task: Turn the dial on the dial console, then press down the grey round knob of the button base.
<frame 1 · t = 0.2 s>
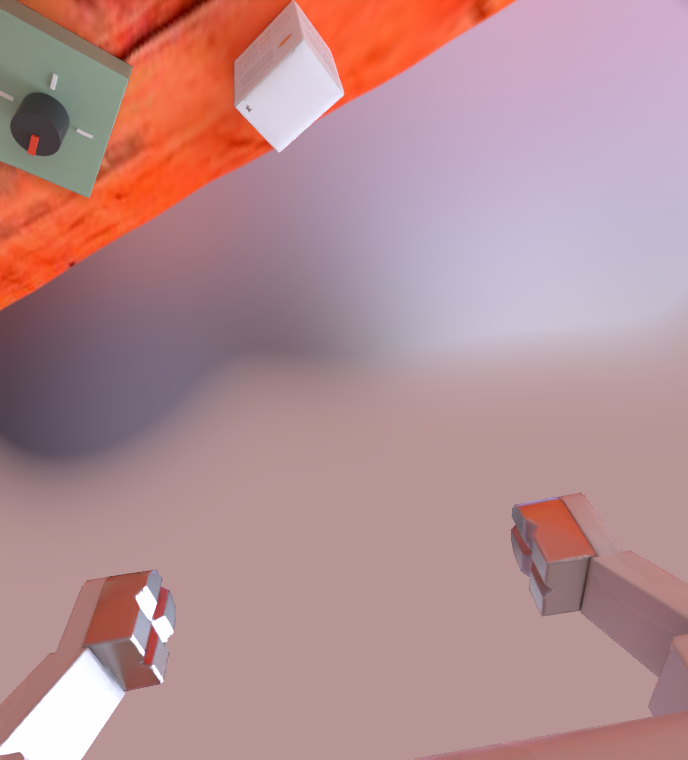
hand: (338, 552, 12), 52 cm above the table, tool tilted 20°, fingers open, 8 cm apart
dial console: (53, 100, 50), on the table
dial: (40, 125, 47), point 5 cm above the table, hinge at 0.0°
small box: (282, 54, 50), on the table
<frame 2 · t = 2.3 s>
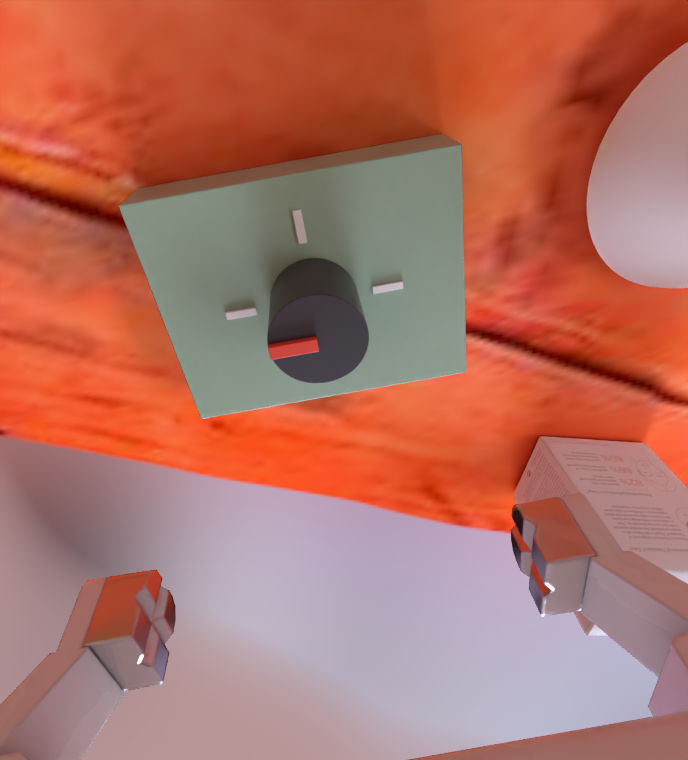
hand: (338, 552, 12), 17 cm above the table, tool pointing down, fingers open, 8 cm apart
dial console: (311, 275, 26), on the table
dial: (316, 320, 21), point 5 cm above the table, hinge at 0.0°
small box: (575, 466, 35), on the table
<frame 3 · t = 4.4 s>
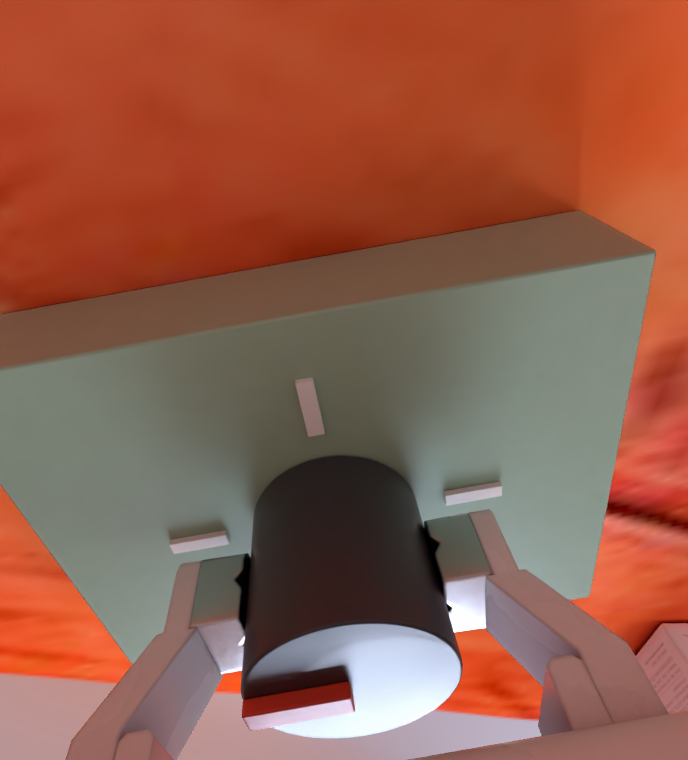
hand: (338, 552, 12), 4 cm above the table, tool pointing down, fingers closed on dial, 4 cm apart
dial console: (327, 438, 15), on the table
dial: (344, 595, 11), point 5 cm above the table, hinge at 0.0°, touching gripper
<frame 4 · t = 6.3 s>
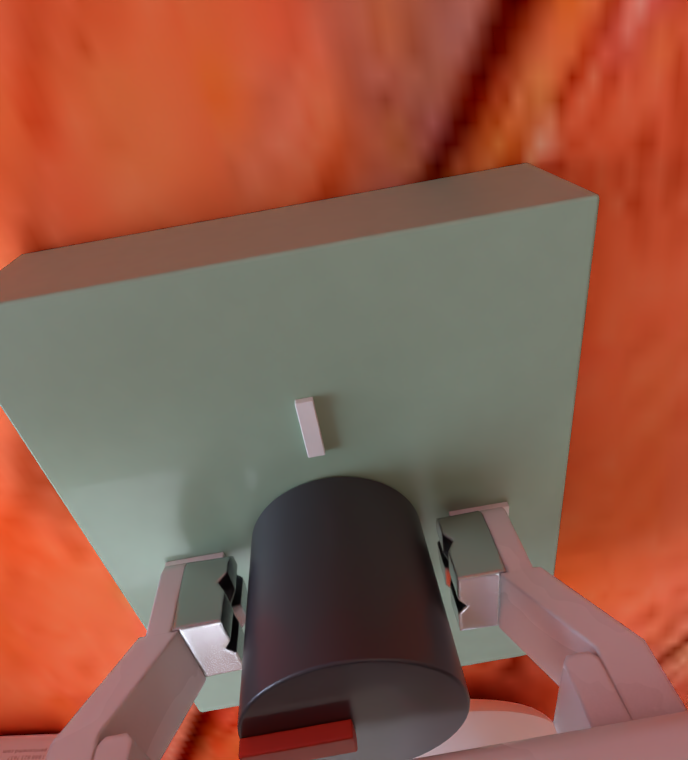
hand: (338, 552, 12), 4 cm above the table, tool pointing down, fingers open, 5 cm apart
dial console: (328, 453, 15), on the table
flower in vase: (448, 730, 25), on the table
dial: (345, 623, 10), point 5 cm above the table, hinge at 90.3°
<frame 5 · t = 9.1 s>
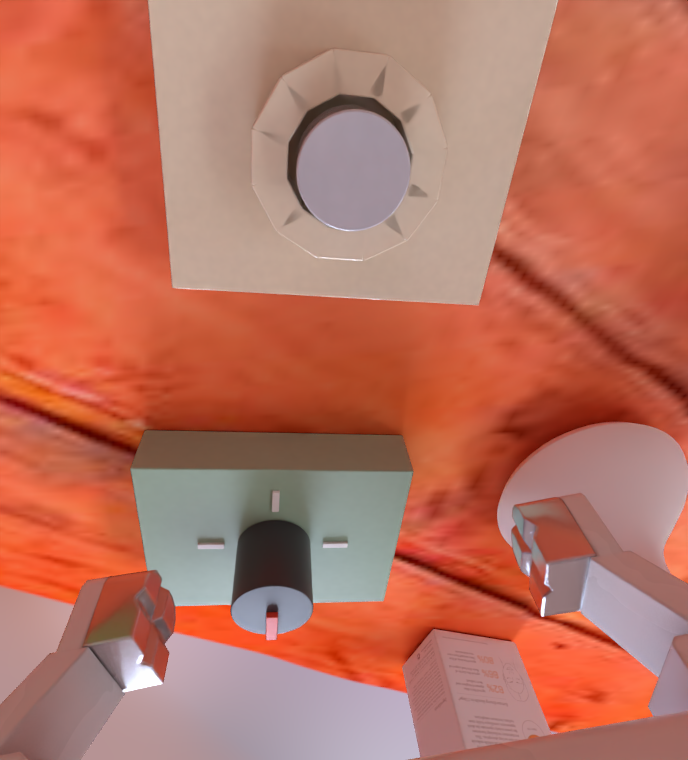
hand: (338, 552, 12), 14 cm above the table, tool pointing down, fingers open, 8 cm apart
dial console: (275, 503, 31), on the table
flower in vase: (587, 470, 32), on the table
dial: (273, 578, 26), point 5 cm above the table, hinge at 90.3°
grey round knob: (351, 169, 17), point 4 cm above the table, slide at 0.1 cm
button base: (339, 147, 20), on the table
small box: (457, 649, 42), on the table
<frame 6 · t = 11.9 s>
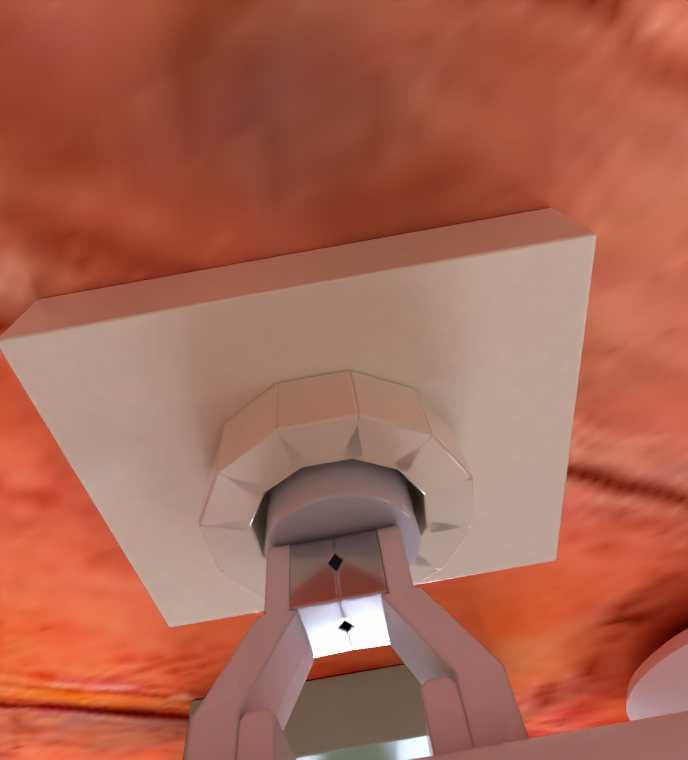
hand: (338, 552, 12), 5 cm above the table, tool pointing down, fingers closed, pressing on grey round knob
dial console: (355, 728, 27), on the table
grey round knob: (340, 522, 12), point 4 cm above the table, slide at -0.5 cm, touching gripper
button base: (330, 424, 16), on the table
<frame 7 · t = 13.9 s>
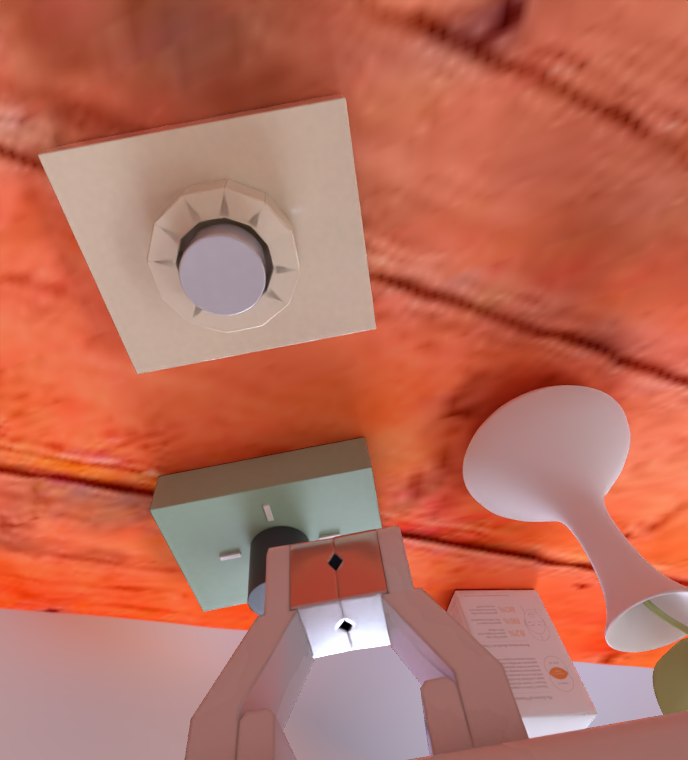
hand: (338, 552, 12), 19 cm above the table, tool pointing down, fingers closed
dial console: (279, 512, 37), on the table
flower in vase: (542, 430, 36), on the table
dial: (280, 573, 32), point 5 cm above the table, hinge at 90.3°
grey round knob: (224, 270, 22), point 4 cm above the table, slide at 0.1 cm
button base: (231, 238, 26), on the table
small box: (486, 605, 47), on the table
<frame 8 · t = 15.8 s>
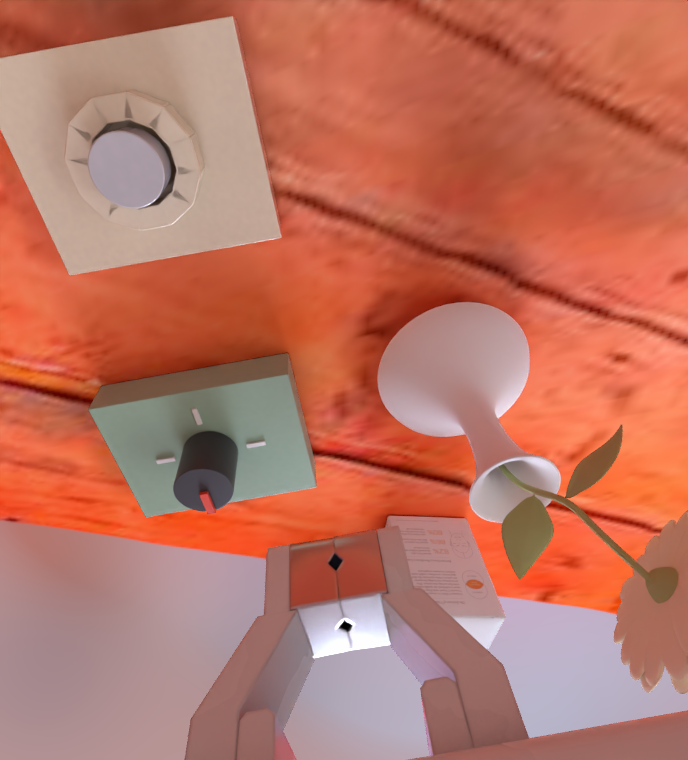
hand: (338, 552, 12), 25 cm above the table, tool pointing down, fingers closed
dial console: (215, 426, 40), on the table
flower in vase: (454, 352, 39), on the table
dial: (207, 472, 36), point 5 cm above the table, hinge at 90.3°
grey round knob: (131, 167, 26), point 4 cm above the table, slide at 0.1 cm
button base: (151, 153, 29), on the table
small box: (420, 533, 50), on the table
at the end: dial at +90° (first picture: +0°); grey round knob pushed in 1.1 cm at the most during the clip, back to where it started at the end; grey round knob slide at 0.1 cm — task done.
